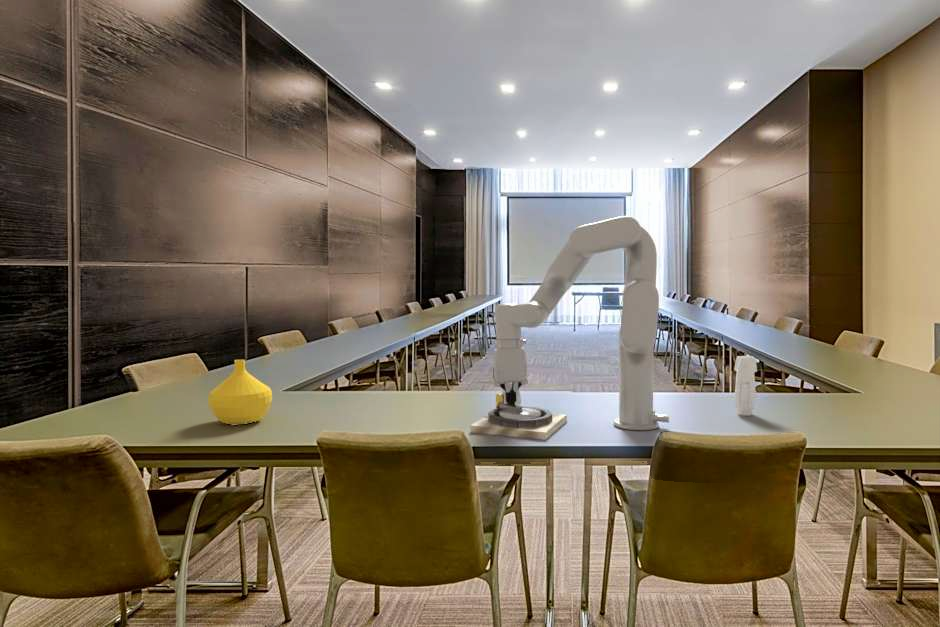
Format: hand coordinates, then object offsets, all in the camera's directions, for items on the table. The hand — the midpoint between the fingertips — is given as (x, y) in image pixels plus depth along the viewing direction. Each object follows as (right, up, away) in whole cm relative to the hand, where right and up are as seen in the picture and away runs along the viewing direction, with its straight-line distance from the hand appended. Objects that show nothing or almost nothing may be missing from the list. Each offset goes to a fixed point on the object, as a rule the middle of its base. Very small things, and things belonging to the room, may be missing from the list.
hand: (511, 404), depth 190 cm
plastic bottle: (+1, -4, +18) cm, 19 cm away
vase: (-83, -6, +3) cm, 83 cm away
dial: (+1, -3, -6) cm, 7 cm away
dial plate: (+2, -5, -7) cm, 9 cm away
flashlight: (+73, -4, +5) cm, 73 cm away
